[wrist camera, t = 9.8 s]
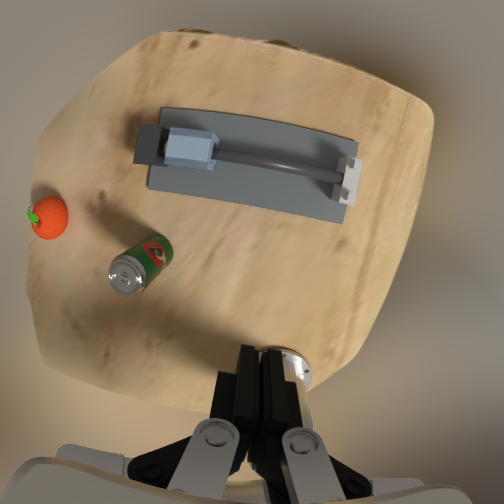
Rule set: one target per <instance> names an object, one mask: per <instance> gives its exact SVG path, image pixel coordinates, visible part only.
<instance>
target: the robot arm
mask: <svg viewBox="0 0 504 504" xmlns="http://www.w3.org/2000/svg"><path fill="white" fill-rule="evenodd" d="M311 379H312V371H311V367H310V365H309V363H308V361H307V360H306V359H305V358H304V357H303V356H302V355H300V354H298V353H297V352H294V351H291V350H287V349H268V350H265V351H262V352H259V350H255V347H254V346H249V345H241V349H240V353H239V358H238V363H237V368H236V373H235V374H232V373H227V372H221V371H218V376H217V381H216V386H215V391H214V396H213V401H212V407H211V412H210V417H209V419H206V420H203V421H202V422H200V423H199V424H198V425H197V427H196V428H195V430H194V432H193V435H192V436H189V437H187V438H185V439H182V440H180V441H177V442H175V443H173V444H170V445H167V446H165V447H162V448H159V449H157V450H154V451H151V452H148V453H146V454H143V455H140V456H138V457H135V458H127V457H124V455H122V454H116V453H110V452H105V451H100V450H95V449H91V448H86V447H82V446H78V445H73V444H67V445H63V446H62V447H60V448H59V449H58V451H57V453H56V456H55V458H53V457H36V458H32V459H30V460H28V461H26V462H25V463H24V464H22V465H21V466H20V467H19V468H18V469H17V471H16V472H15V473H14V474H13V475H12V477H11V478H10V480H9V481H8V482H7V484H6V486H5V487H4V489H3V490H2V492H1V494H0V504H472V503H471V501H470V499H469V498H468V496H467V495H466V494H465V493H464V492H463V491H462V490H461V489H459V488H457V487H453V486H448V485H426V486H424V484H423V483H422V482H421V481H420V480H418V479H416V478H372V479H371V480H368V479H366V478H365V477H364V476H363V475H361V474H359V473H357V472H356V471H354V470H352V469H351V468H349V467H347V466H346V465H344V464H342V463H341V462H339V461H338V460H336V459H334V458H333V457H331V456H330V455H328V453H327V451H326V448H325V446H324V443H323V441H322V439H321V437H320V436H319V435H318V434H317V433H316V432H315V431H314V426H313V421H312V416H311V411H310V406H309V401H308V396H307V391H306V389H307V388H308V386H309V385H310V383H311ZM245 457H246V458H247V461H248V463H249V465H250V466H251V467H252V469H253V470H254V471H255V472H256V473H257V474H258V475H259V476H260V477H261V478H262V480H252V481H227V479H228V476H230V475H232V474H233V473H235V472H237V471H239V469H240V466H241V463H242V462H244V459H245Z"/></svg>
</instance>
